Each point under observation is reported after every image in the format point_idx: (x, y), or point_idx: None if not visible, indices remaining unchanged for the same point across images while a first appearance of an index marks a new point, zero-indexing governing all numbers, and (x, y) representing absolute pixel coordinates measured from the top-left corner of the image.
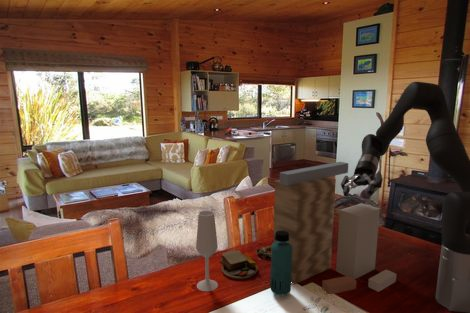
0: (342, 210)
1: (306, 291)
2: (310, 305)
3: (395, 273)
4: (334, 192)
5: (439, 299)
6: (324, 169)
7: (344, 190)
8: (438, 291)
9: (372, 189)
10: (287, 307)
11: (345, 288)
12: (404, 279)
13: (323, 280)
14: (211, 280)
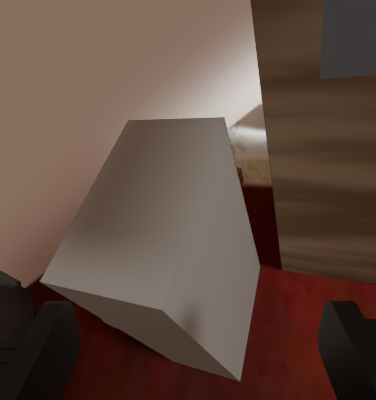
0: (209, 119)
1: (262, 154)
2: (231, 133)
3: (104, 320)
4: (254, 22)
5: (26, 291)
6: None
7: (365, 322)
8: (17, 291)
9: (4, 345)
10: (257, 107)
11: None
12: (93, 357)
13: (239, 170)
14: None
